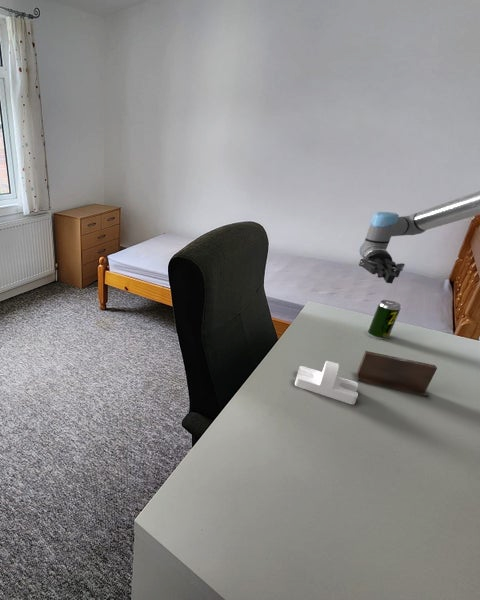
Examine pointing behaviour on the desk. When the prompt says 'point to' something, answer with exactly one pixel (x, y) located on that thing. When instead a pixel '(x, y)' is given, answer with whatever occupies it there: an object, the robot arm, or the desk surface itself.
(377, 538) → the desk surface
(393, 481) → the desk surface
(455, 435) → the desk surface
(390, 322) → the beer can
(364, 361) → the wall board
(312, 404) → the desk surface
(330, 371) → the slotted bracket
